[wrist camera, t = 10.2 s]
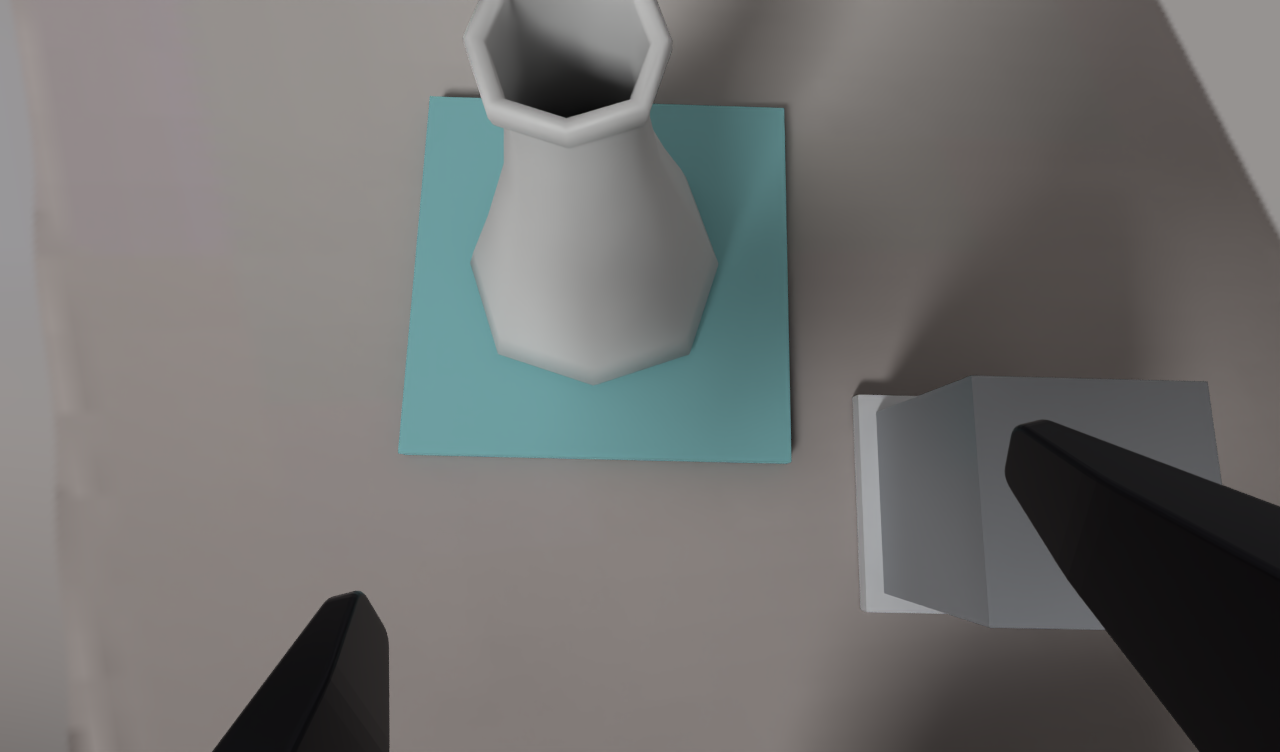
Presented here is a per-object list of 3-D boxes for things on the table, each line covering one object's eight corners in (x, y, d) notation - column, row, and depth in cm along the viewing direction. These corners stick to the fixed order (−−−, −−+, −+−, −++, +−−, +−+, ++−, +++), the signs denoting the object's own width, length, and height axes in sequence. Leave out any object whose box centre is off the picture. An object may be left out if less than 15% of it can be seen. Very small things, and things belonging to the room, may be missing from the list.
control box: (1072, 613, 19) (1271, 659, 13) (860, 609, 19) (965, 654, 13) (1052, 402, 20) (1227, 358, 14) (852, 397, 20) (946, 351, 14)
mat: (786, 463, 20) (791, 462, 19) (405, 454, 20) (397, 452, 19) (779, 118, 22) (784, 108, 21) (435, 107, 22) (429, 96, 21)
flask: (477, 153, 21) (345, -165, 11) (714, 155, 21) (793, -157, 11) (466, 387, 19) (305, 262, 10) (720, 387, 20) (816, 265, 10)
